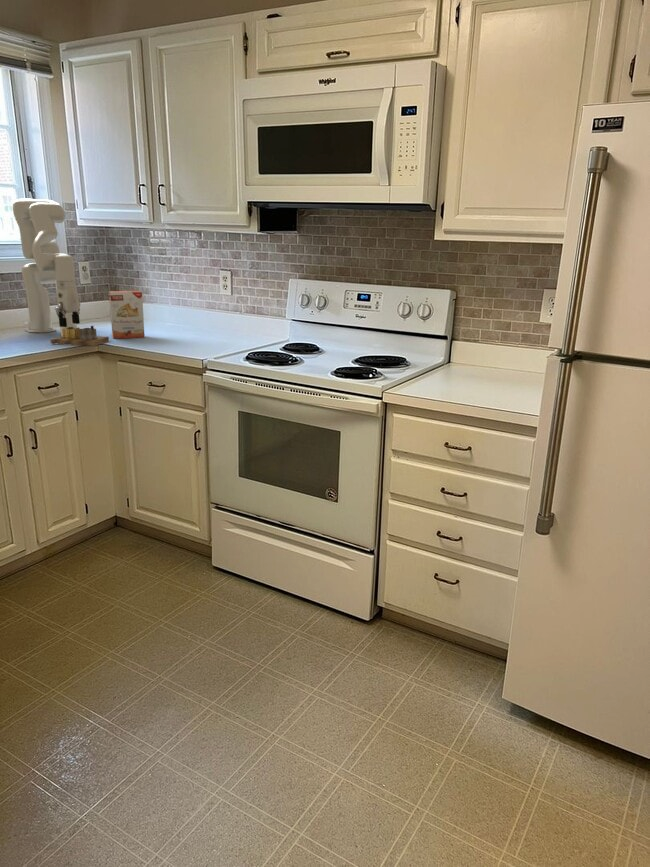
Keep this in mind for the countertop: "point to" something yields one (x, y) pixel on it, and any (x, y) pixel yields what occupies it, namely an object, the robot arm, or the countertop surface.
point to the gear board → (82, 338)
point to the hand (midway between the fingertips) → (69, 325)
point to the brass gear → (70, 333)
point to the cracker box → (127, 314)
